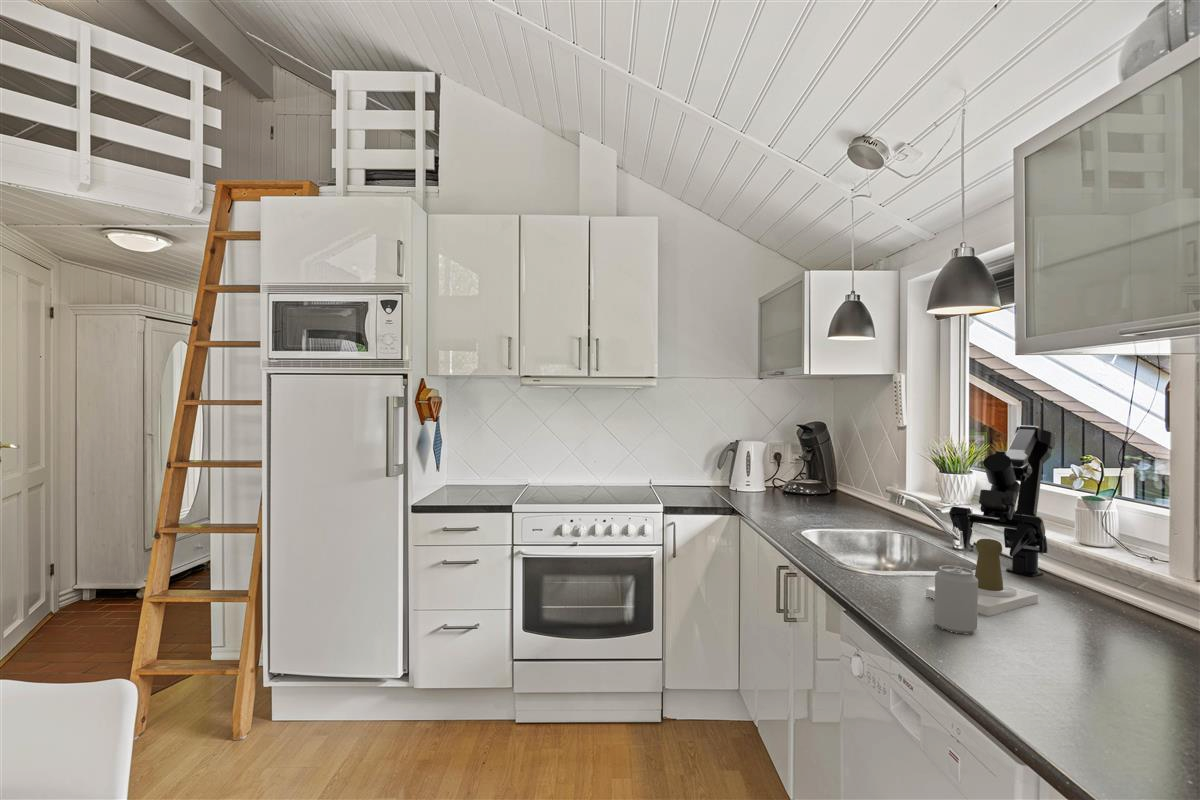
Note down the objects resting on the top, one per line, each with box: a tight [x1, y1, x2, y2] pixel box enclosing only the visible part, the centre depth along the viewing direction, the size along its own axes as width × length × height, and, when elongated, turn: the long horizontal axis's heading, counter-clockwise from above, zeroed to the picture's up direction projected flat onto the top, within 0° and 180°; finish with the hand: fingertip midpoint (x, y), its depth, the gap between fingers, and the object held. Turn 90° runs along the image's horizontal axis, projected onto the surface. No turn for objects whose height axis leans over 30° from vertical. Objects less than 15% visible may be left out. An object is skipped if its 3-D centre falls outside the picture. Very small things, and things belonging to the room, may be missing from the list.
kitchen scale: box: [925, 584, 1039, 617], centre depth 143 cm, size 20×14×3 cm
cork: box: [974, 538, 1004, 591], centre depth 144 cm, size 6×6×11 cm
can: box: [933, 565, 978, 634], centre depth 125 cm, size 8×8×12 cm
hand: (987, 551), depth 143 cm, fingers open, 9 cm apart
